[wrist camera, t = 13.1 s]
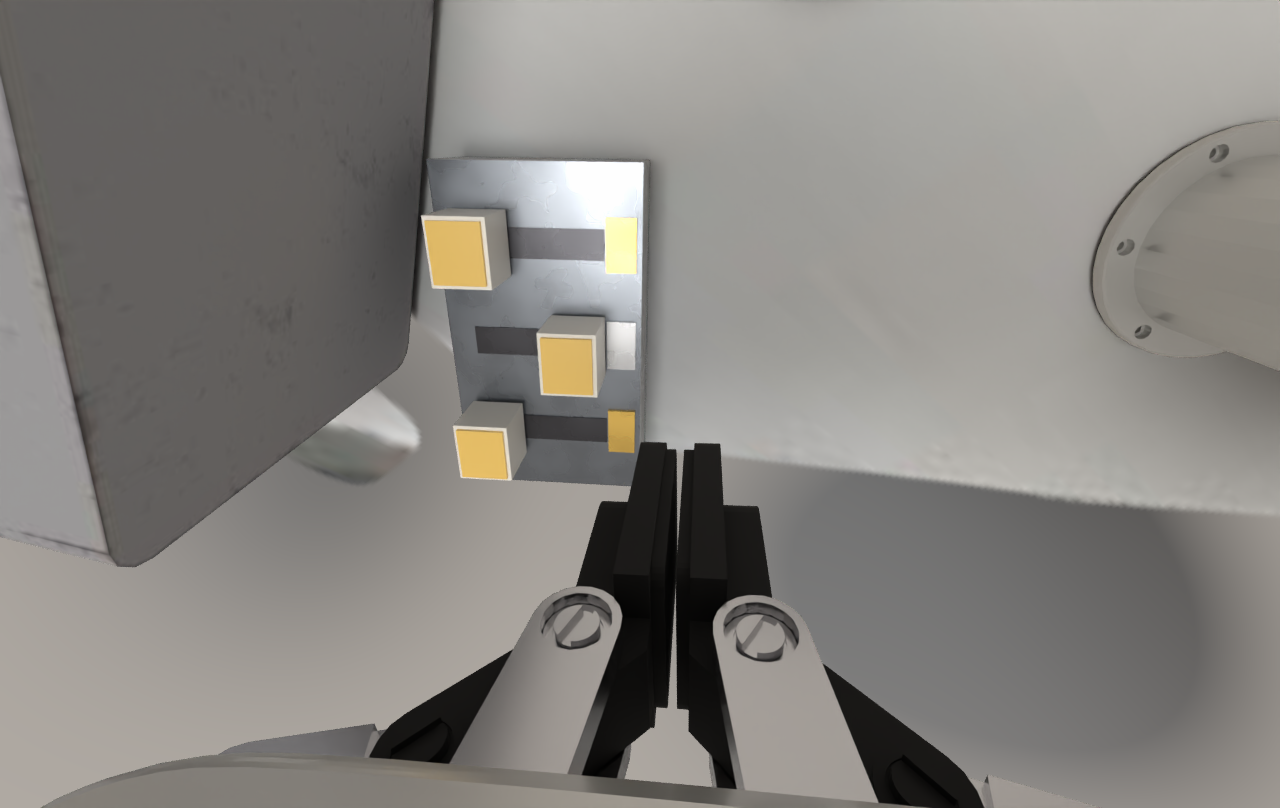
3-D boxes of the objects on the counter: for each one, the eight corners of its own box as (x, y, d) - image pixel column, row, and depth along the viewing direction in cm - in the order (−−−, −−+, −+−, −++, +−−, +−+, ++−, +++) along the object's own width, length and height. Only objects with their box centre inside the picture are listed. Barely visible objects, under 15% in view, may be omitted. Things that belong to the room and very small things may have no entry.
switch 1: (505, 209, 28) (482, 217, 25) (511, 276, 30) (490, 291, 26) (448, 208, 28) (419, 216, 25) (456, 274, 30) (430, 289, 27)
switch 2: (522, 403, 33) (505, 429, 30) (526, 452, 34) (510, 482, 31) (473, 401, 33) (451, 427, 30) (479, 449, 34) (459, 479, 31)
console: (650, 160, 31) (643, 162, 27) (644, 447, 40) (638, 488, 35) (462, 156, 32) (424, 159, 27) (495, 439, 40) (470, 479, 36)
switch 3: (604, 317, 30) (595, 336, 27) (605, 374, 32) (596, 399, 28) (550, 315, 30) (535, 334, 27) (554, 372, 32) (540, 396, 29)
